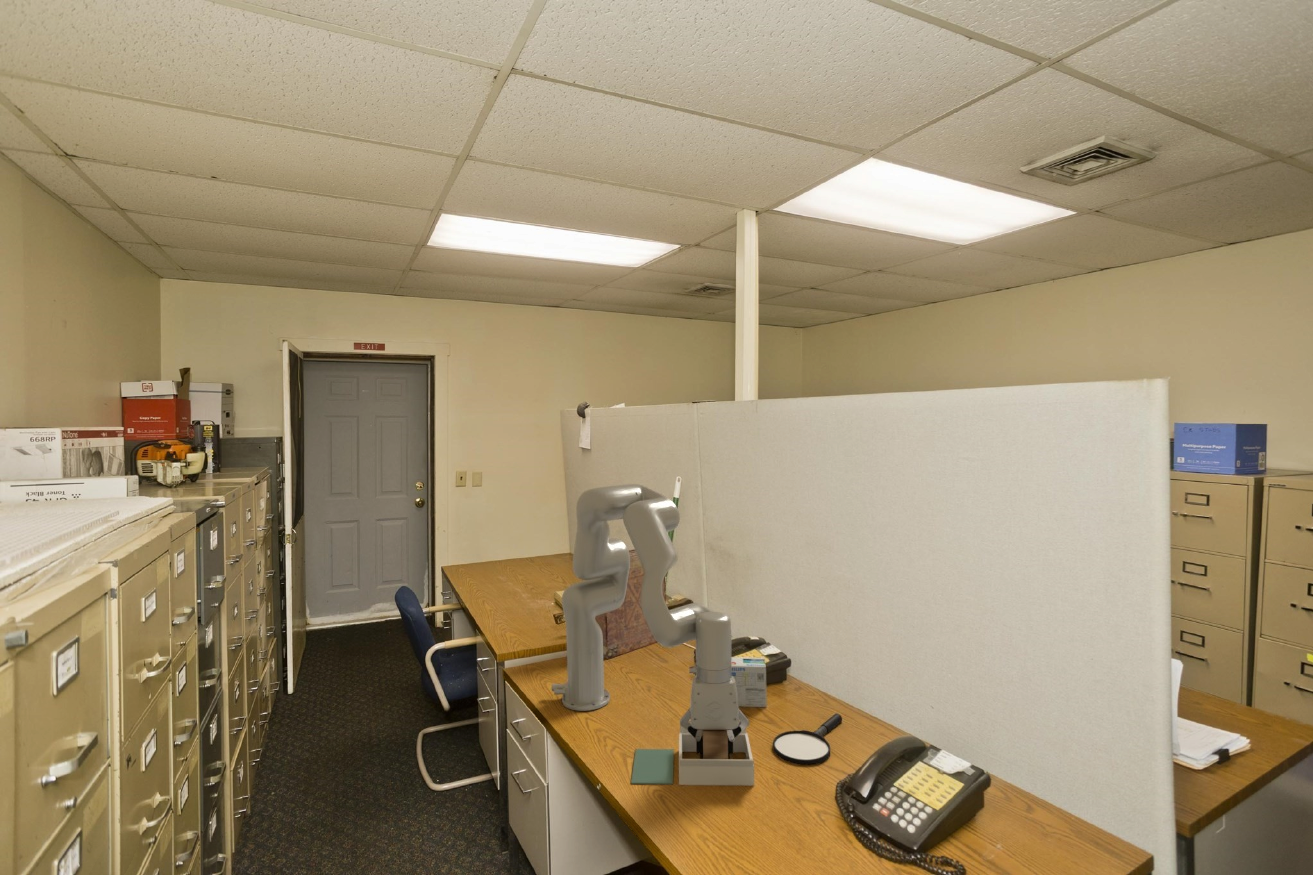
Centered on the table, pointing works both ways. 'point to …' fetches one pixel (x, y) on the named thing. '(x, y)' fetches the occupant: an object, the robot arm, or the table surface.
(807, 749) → the magnifying glass
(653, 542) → the robot arm
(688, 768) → the carton
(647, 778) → the pad
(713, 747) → the walnut box
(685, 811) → the table surface
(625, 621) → the book
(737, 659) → the light bulb box
